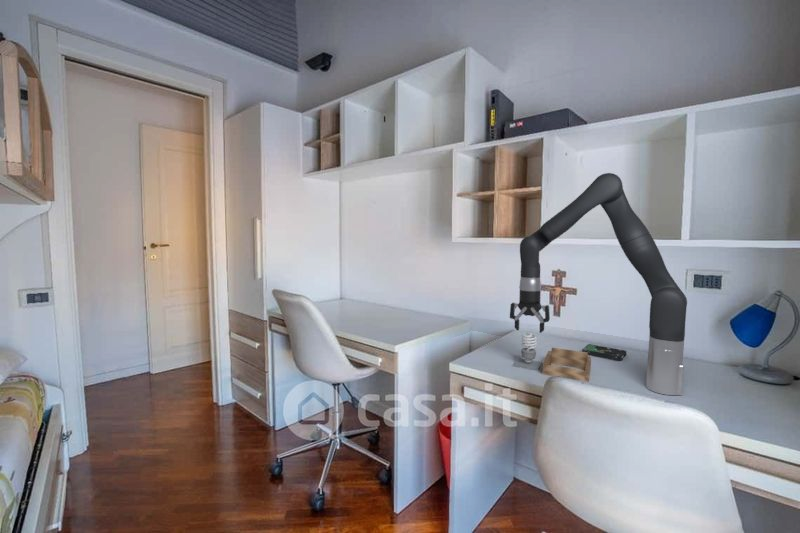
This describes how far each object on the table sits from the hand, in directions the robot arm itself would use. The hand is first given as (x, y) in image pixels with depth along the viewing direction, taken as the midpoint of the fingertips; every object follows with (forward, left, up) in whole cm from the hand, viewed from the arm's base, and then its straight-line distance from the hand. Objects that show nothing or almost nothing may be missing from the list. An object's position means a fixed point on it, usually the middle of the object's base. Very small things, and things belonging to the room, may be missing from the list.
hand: (529, 331), depth 146 cm
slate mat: (0, 0, -13) cm, 13 cm away
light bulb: (0, 0, -13) cm, 13 cm away
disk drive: (-26, -29, -14) cm, 41 cm away
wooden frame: (-14, 0, -13) cm, 19 cm away
